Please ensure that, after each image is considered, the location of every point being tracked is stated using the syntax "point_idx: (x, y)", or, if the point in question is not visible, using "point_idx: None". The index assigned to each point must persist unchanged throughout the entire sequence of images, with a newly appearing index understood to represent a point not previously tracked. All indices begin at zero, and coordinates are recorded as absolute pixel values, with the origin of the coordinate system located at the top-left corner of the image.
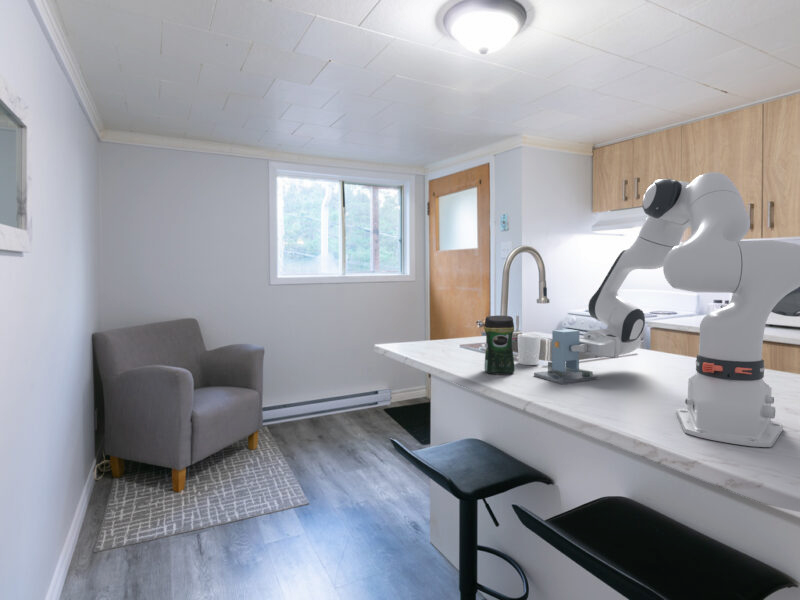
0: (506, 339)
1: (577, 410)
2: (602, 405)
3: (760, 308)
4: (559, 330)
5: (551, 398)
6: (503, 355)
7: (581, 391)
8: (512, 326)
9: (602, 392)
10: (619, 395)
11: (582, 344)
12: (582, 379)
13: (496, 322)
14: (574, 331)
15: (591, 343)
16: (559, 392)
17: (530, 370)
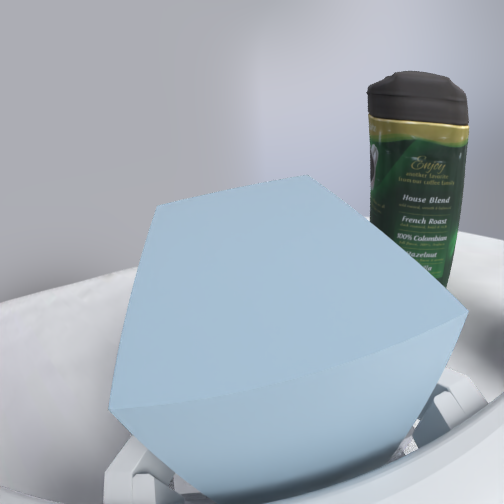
0: (373, 164)
1: (33, 311)
2: (11, 358)
3: None
4: (294, 200)
5: (94, 307)
6: (370, 220)
7: (84, 397)
8: (383, 113)
9: (45, 440)
10: (9, 450)
11: (133, 481)
12: (184, 501)
13: (367, 91)
14: (130, 304)
15: (39, 501)
16: (113, 342)
17: (454, 367)
